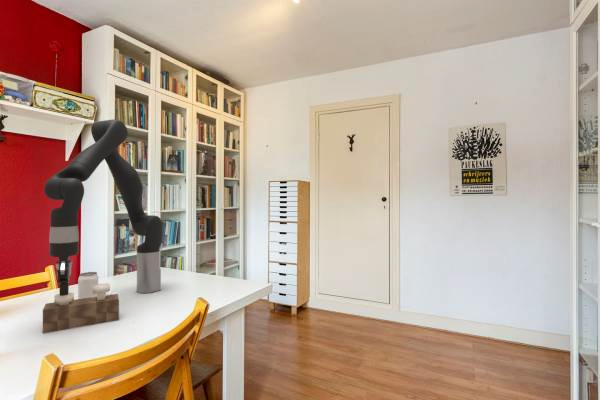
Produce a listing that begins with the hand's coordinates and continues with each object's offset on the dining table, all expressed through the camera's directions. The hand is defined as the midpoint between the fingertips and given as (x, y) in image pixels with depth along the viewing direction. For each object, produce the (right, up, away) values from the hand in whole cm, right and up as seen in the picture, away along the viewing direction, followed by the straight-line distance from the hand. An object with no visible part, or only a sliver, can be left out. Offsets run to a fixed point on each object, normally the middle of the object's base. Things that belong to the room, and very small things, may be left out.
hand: (64, 294), depth 102 cm
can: (-6, -10, +20) cm, 23 cm away
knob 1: (0, -7, 0) cm, 7 cm away
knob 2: (+9, -6, +5) cm, 12 cm away
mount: (+4, -10, +3) cm, 11 cm away
